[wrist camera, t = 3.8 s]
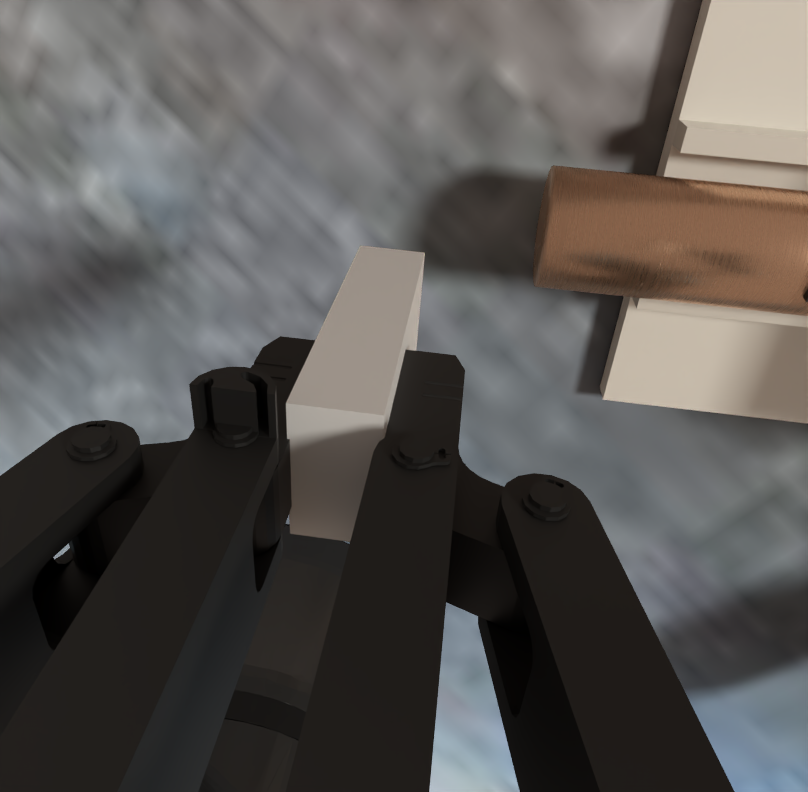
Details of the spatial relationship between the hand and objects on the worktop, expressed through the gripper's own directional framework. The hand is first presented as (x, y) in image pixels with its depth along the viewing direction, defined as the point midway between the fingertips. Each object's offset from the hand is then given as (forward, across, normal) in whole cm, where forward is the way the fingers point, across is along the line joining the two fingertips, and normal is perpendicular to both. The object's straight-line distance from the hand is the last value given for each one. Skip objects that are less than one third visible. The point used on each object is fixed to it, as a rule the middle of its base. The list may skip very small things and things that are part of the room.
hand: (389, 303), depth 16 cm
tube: (+10, +13, 0) cm, 17 cm away
